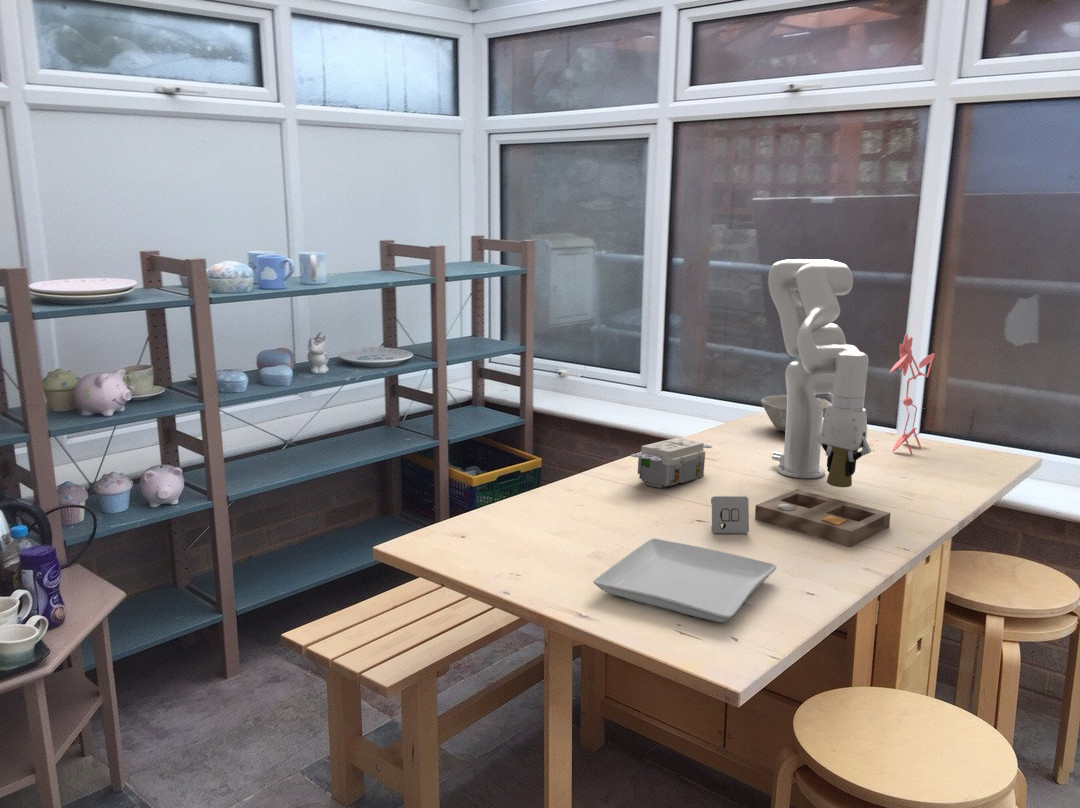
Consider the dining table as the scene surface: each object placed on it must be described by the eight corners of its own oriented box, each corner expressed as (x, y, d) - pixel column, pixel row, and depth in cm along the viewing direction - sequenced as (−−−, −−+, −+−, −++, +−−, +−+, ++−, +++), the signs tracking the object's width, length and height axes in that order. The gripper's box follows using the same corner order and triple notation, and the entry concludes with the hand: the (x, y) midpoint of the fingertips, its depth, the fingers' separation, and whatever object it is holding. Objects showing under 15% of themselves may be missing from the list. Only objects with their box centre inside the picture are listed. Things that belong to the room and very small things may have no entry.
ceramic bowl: (762, 438, 286) (763, 408, 284) (757, 422, 308) (759, 393, 306) (835, 442, 282) (837, 410, 280) (824, 425, 304) (827, 395, 302)
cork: (853, 488, 223) (858, 445, 220) (827, 486, 224) (832, 443, 221) (850, 479, 228) (854, 438, 225) (825, 478, 229) (829, 436, 227)
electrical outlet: (622, 485, 236) (624, 447, 234) (679, 469, 257) (681, 434, 256) (660, 494, 228) (663, 455, 227) (716, 476, 250) (718, 441, 248)
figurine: (931, 442, 282) (942, 331, 274) (906, 460, 262) (918, 341, 255) (881, 435, 291) (891, 327, 284) (853, 451, 271) (863, 336, 264)
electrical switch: (711, 534, 202) (713, 498, 202) (707, 529, 207) (709, 493, 206) (749, 534, 203) (750, 498, 202) (744, 529, 207) (745, 493, 206)
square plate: (590, 599, 170) (590, 579, 169) (651, 552, 193) (652, 535, 192) (729, 635, 156) (730, 614, 155) (777, 580, 179) (778, 562, 178)
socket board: (754, 519, 212) (755, 503, 211) (796, 502, 224) (797, 487, 224) (850, 547, 195) (851, 530, 195) (889, 527, 207) (890, 511, 207)
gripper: (808, 397, 224) (802, 468, 229) (872, 411, 212) (864, 485, 217) (824, 392, 229) (817, 461, 234) (887, 406, 217) (879, 478, 222)
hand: (840, 472), depth 225 cm, fingers closed on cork, 4 cm apart
